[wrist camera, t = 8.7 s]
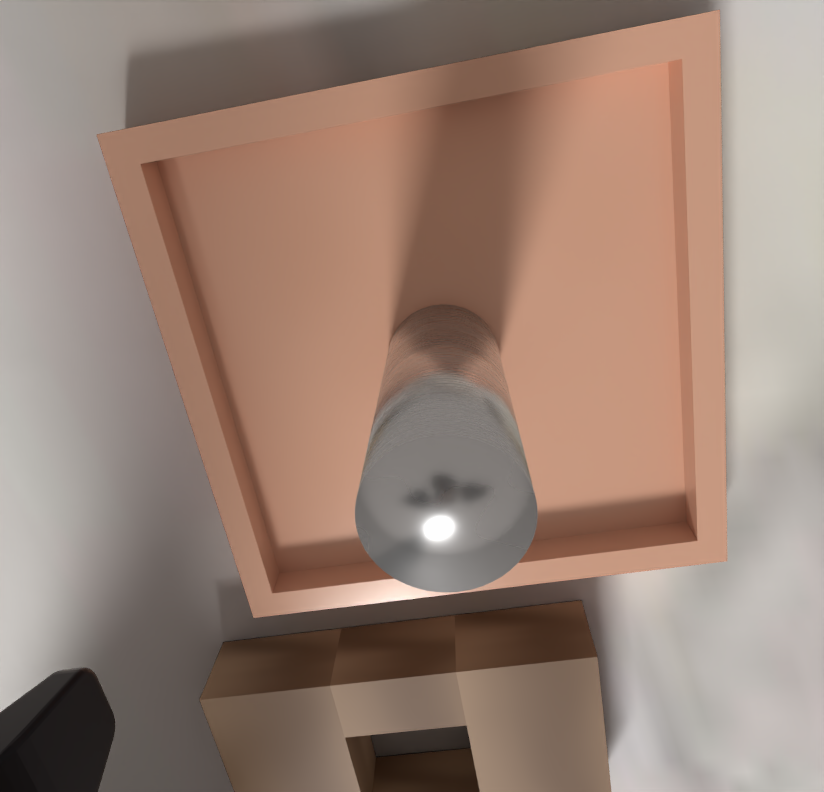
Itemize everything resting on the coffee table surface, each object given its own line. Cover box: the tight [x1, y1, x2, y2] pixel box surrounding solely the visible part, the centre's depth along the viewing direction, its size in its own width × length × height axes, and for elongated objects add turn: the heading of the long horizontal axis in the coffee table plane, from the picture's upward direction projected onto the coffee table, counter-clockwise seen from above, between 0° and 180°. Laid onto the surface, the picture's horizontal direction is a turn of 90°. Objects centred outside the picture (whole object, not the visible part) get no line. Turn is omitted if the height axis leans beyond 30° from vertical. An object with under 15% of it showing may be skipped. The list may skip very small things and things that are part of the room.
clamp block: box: [200, 600, 611, 792], centre depth 23 cm, size 12×8×2 cm, turn 100°
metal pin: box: [355, 304, 538, 592], centre depth 15 cm, size 3×3×8 cm
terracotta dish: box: [97, 10, 727, 618], centre depth 19 cm, size 14×14×2 cm
